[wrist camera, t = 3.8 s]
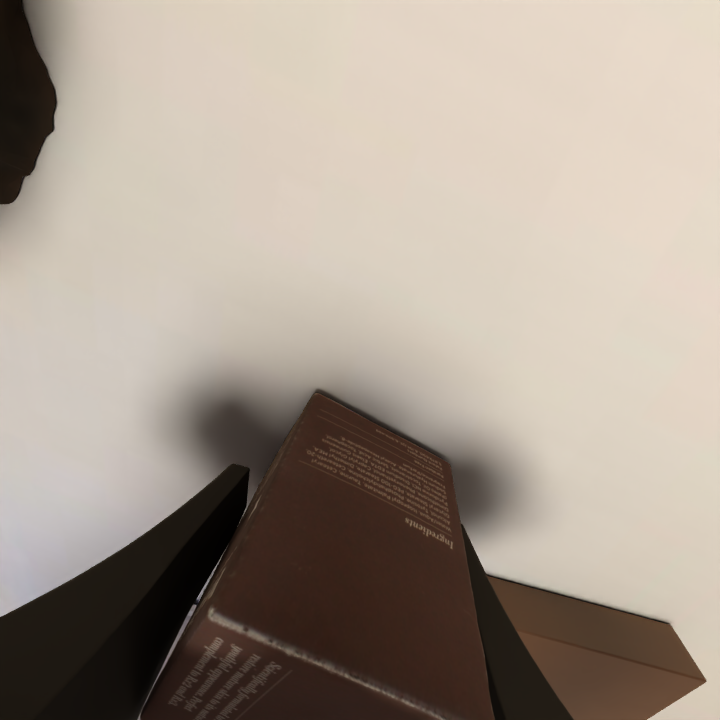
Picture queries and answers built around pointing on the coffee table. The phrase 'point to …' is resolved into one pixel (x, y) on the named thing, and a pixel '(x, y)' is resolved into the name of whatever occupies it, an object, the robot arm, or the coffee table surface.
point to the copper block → (600, 654)
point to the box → (336, 591)
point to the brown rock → (20, 100)
